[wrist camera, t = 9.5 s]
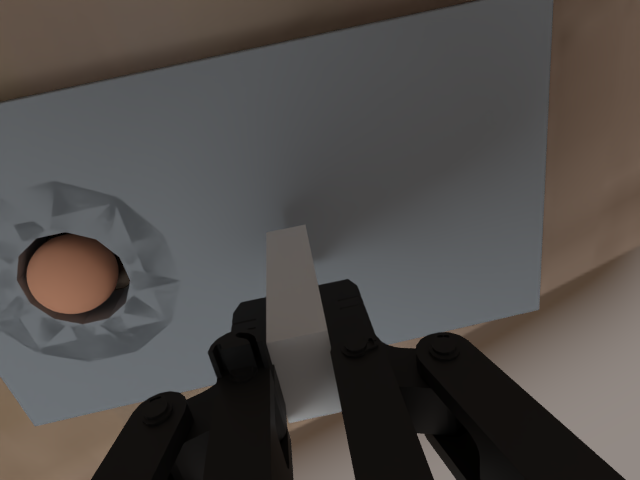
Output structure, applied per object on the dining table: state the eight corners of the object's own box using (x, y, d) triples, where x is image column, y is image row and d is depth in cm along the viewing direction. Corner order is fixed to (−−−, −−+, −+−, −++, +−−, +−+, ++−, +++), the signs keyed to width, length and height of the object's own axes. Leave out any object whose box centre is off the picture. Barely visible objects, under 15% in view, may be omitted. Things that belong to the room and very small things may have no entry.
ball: (144, 292, 19) (108, 298, 21) (117, 218, 18) (82, 231, 21) (64, 326, 16) (31, 328, 18) (30, 240, 16) (1, 253, 18)
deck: (57, 387, 23) (34, 426, 21) (-108, 124, 17) (-165, 138, 14) (512, 283, 23) (538, 309, 21) (516, -8, 17) (554, -15, 15)
